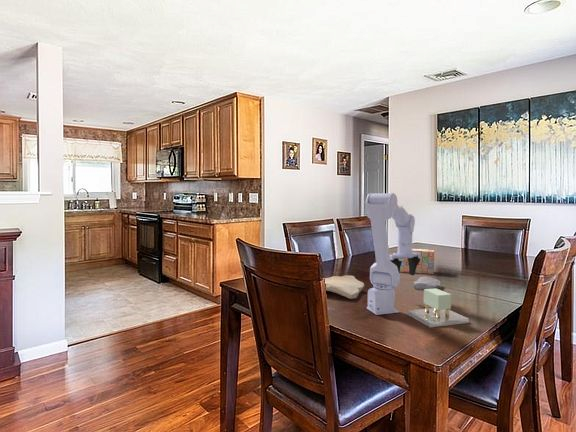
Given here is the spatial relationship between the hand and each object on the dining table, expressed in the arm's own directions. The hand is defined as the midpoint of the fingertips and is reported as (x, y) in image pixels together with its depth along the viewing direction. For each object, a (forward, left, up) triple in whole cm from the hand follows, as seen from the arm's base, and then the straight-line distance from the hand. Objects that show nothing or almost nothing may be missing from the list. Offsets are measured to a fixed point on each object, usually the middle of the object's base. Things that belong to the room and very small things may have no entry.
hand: (404, 275), depth 155 cm
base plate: (-3, -25, -9) cm, 27 cm away
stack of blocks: (+33, +43, -10) cm, 55 cm away
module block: (-3, -25, -5) cm, 26 cm away
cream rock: (-24, +17, -10) cm, 31 cm away
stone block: (+20, +11, -10) cm, 25 cm away
